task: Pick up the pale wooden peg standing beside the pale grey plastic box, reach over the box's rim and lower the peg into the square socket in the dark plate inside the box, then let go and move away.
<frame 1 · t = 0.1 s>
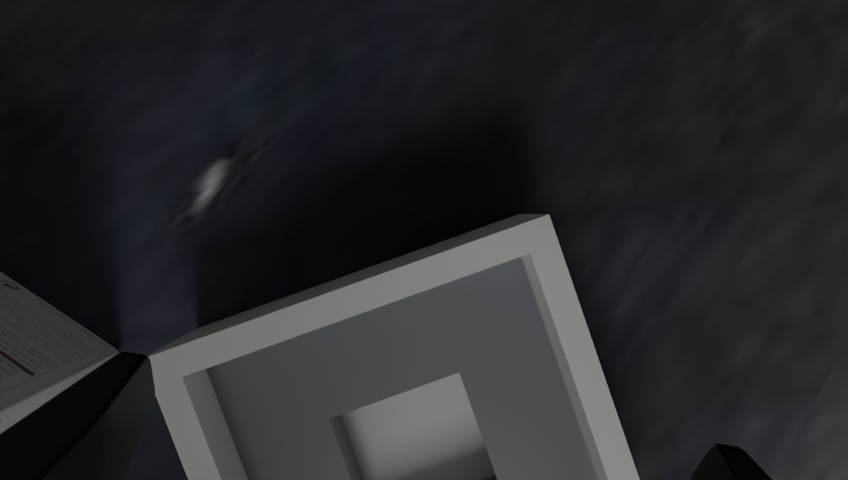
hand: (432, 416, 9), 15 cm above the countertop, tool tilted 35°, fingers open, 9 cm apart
grey box: (415, 429, 25), on the countertop
supplement box: (4, 370, 24), on the countertop
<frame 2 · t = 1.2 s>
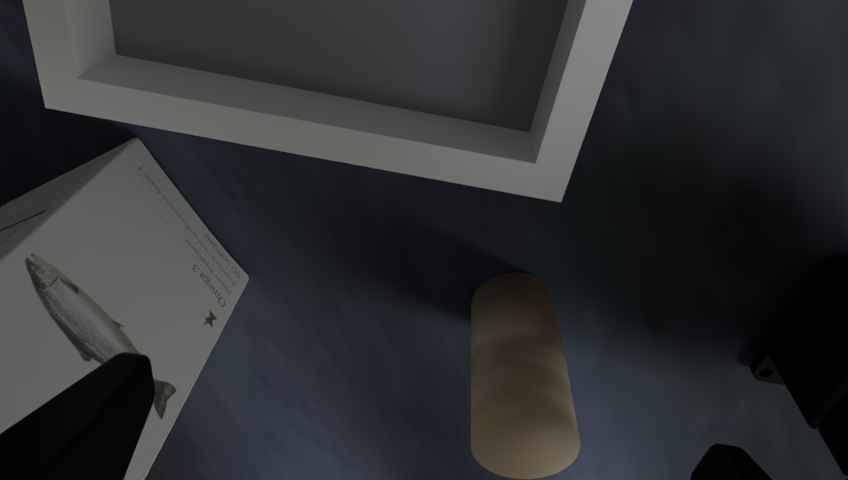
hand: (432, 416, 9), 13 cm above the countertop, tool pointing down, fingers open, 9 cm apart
wooden peg: (512, 305, 25), on the countertop
supplement box: (134, 235, 24), on the countertop
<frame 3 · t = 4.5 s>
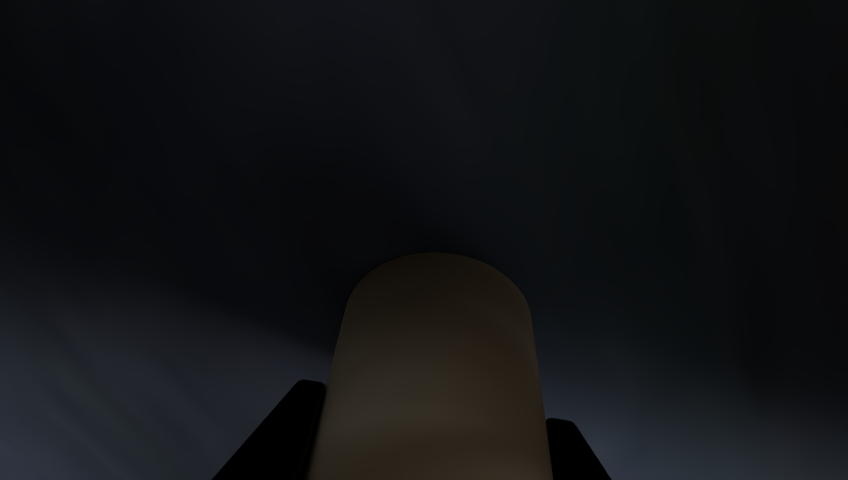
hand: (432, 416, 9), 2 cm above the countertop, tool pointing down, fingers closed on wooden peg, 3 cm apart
wooden peg: (437, 327, 11), on the countertop, touching gripper
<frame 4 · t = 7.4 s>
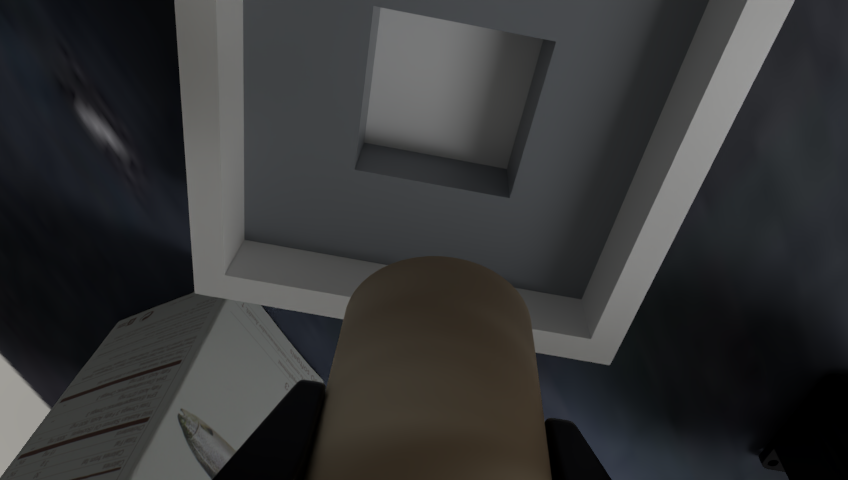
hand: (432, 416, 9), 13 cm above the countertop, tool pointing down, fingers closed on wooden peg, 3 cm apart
grey box: (450, 76, 20), on the countertop
wooden peg: (437, 331, 11), point 11 cm above the countertop, touching gripper
supplement box: (225, 346, 28), on the countertop
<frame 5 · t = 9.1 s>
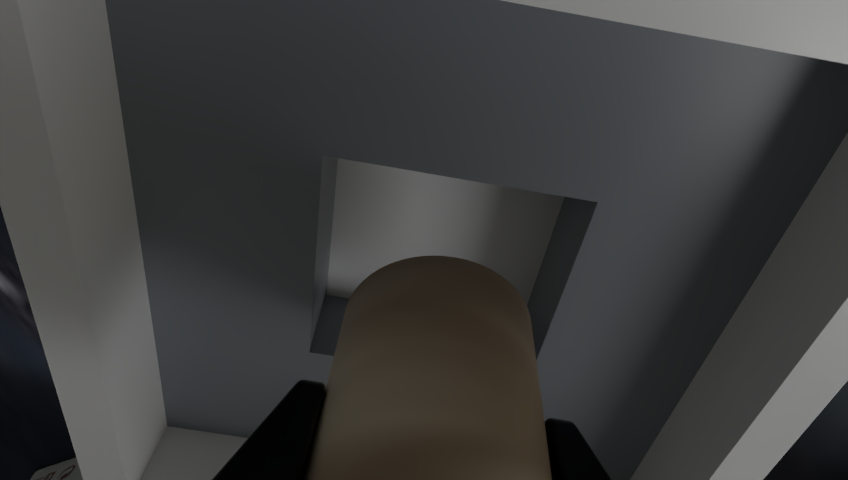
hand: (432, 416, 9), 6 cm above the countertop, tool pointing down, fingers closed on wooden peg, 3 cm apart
grey box: (442, 207, 14), on the countertop
wooden peg: (436, 330, 11), point 4 cm above the countertop, touching gripper
when the fingers open (4 cm above the countertop, at t = 10.4 s): wooden peg stays where it is, resting on grey box.
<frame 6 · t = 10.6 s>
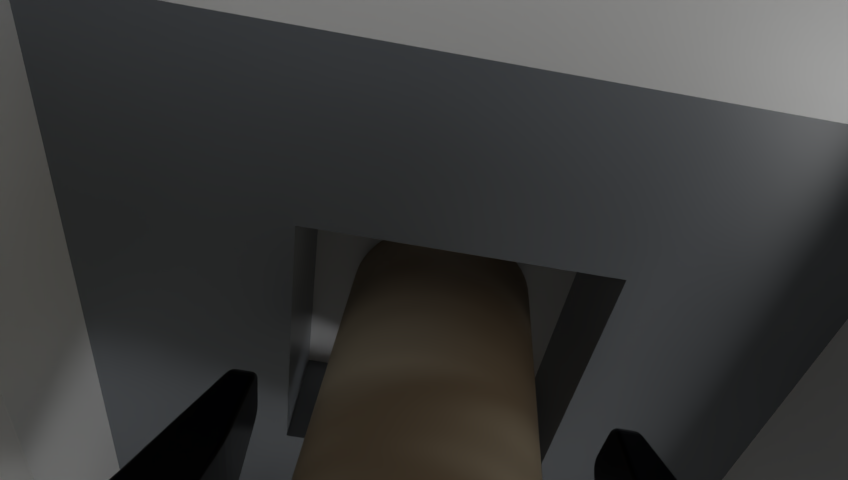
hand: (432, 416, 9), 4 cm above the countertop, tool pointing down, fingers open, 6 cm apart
grey box: (440, 263, 13), on the countertop
wooden peg: (440, 298, 12), point 1 cm above the countertop, touching grey box
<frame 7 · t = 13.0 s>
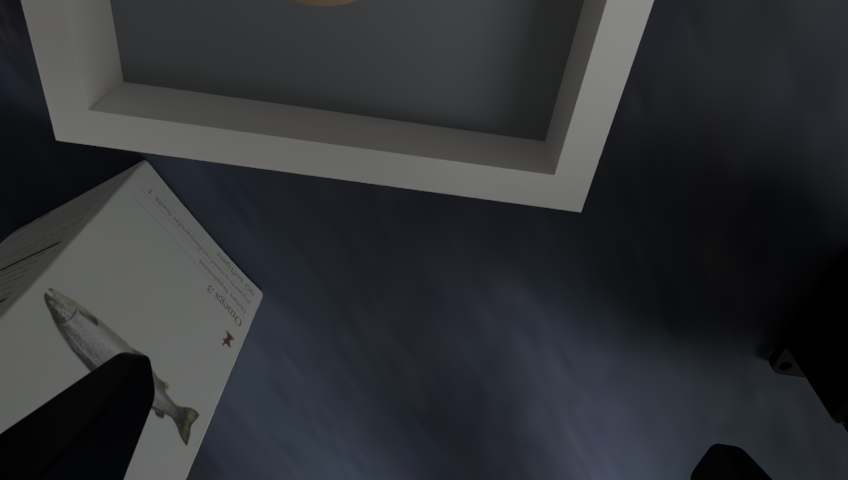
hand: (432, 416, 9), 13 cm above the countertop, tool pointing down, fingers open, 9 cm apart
supplement box: (145, 256, 24), on the countertop
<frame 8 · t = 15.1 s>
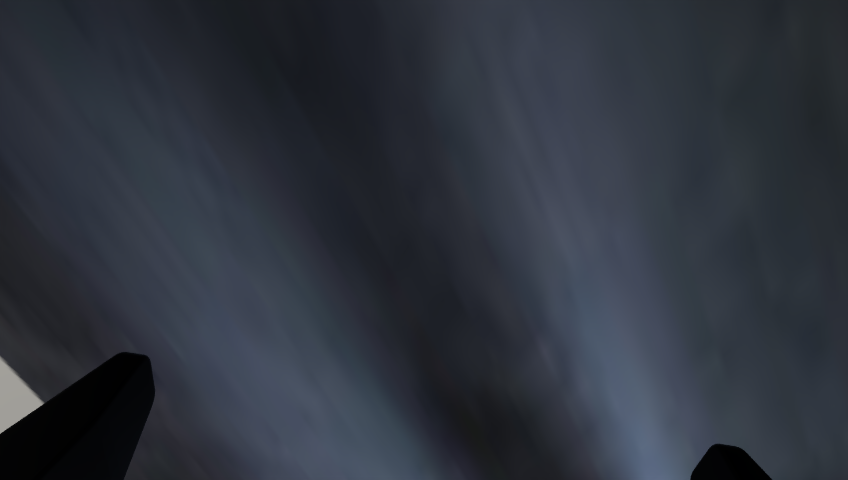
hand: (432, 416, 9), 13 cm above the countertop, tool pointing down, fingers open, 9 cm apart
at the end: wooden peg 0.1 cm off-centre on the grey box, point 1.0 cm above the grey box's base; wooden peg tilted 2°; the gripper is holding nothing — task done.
